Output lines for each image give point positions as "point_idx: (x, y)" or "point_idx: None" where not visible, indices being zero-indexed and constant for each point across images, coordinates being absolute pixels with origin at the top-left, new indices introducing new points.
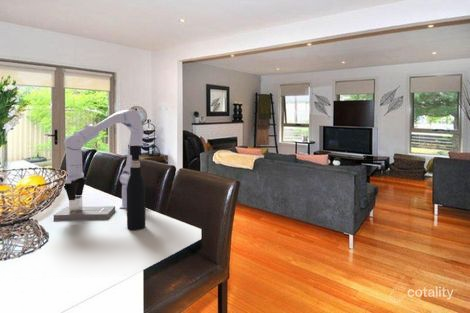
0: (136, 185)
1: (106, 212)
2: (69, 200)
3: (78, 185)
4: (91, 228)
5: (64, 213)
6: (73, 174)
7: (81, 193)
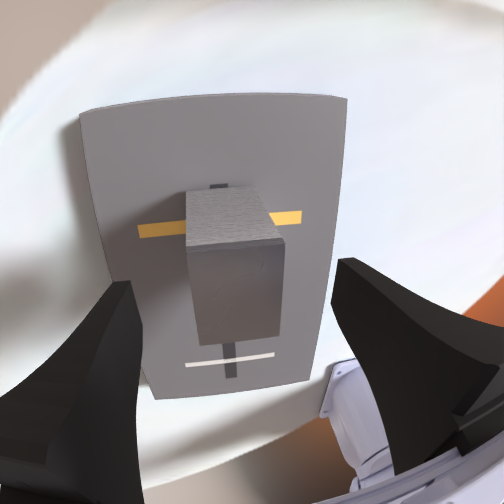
0: None
1: (182, 390)
2: (187, 240)
3: (396, 367)
4: (27, 360)
5: (129, 176)
6: None
7: (339, 320)
